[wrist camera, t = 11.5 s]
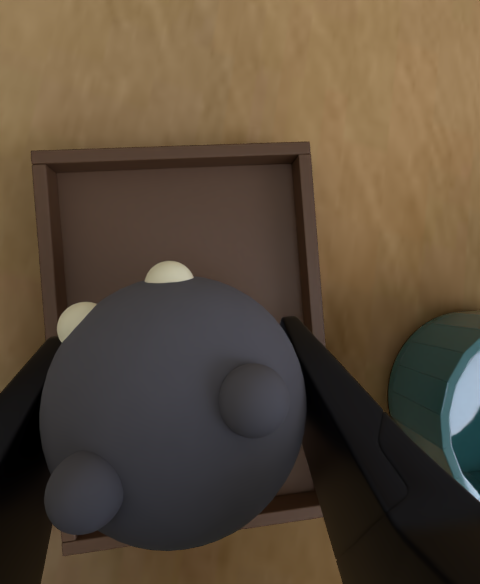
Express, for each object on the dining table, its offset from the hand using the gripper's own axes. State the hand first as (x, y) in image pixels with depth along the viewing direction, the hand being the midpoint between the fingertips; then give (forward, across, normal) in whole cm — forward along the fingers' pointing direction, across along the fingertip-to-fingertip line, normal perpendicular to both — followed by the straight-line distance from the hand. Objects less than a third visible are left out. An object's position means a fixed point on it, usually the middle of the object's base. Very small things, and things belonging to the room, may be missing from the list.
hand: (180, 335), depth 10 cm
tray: (+7, 0, +9) cm, 11 cm away
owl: (+4, 0, +5) cm, 6 cm away
